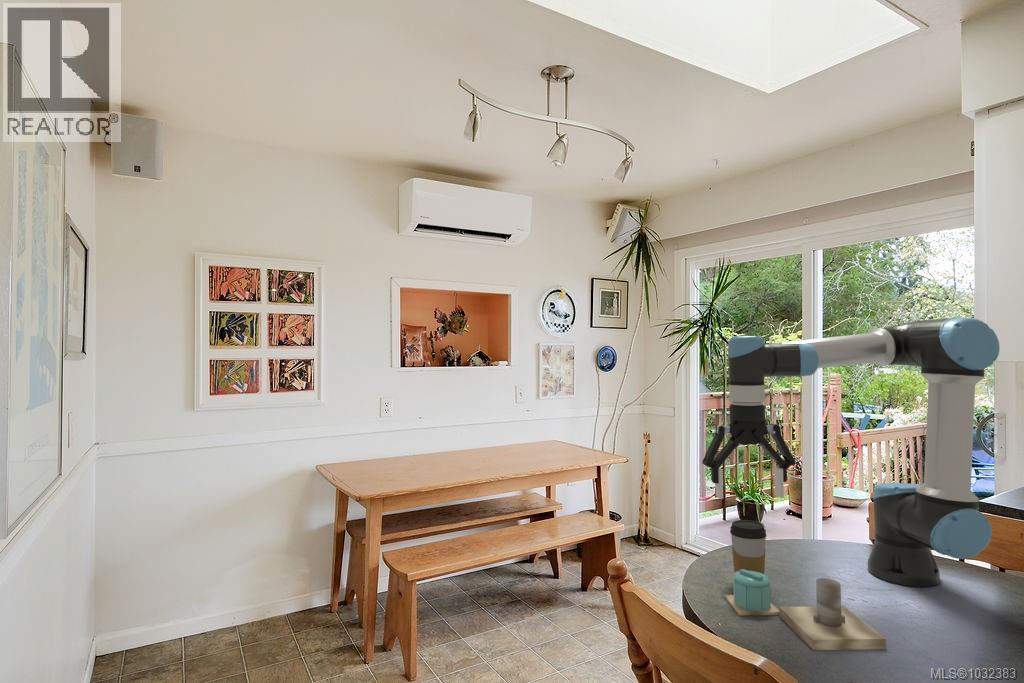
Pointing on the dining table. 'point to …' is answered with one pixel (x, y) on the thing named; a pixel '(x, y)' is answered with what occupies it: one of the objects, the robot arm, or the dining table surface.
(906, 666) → the dining table surface
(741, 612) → the coaster
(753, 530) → the coffee cup
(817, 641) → the post base
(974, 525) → the robot arm
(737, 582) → the cap
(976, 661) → the dining table surface
